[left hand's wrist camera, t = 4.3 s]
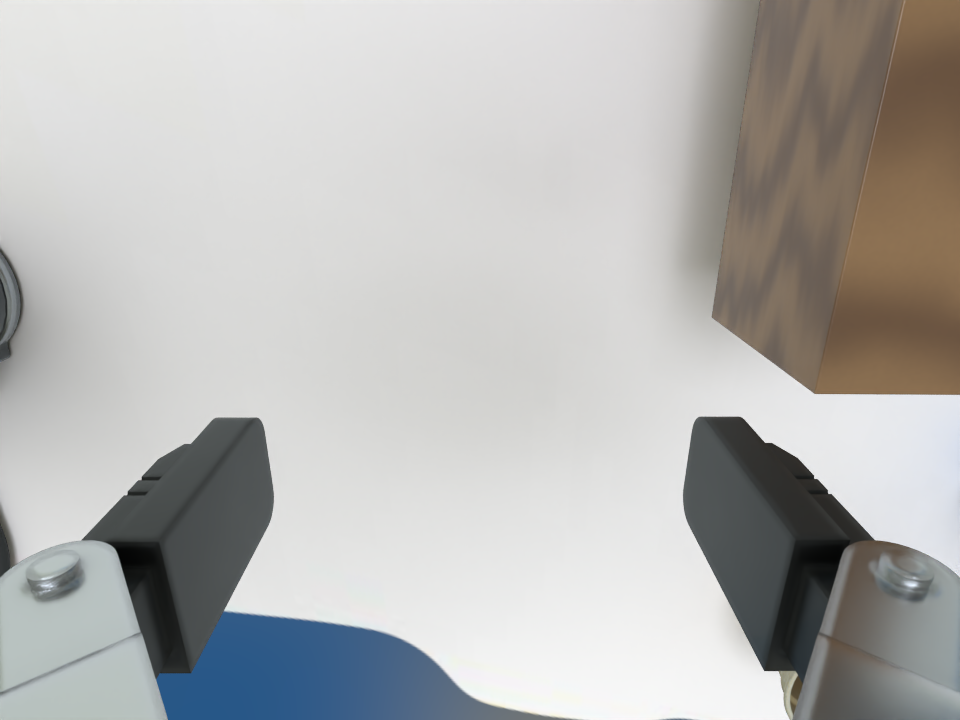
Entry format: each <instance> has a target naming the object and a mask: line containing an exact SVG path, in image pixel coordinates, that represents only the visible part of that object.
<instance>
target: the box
mask: <svg viewBox="0 0 960 720" xmlns="http://www.w3.org/2000/svg"><path fill="white" fill-rule="evenodd" d="M712 318H713V319H715V320H716V321H717V322H719V323H720V324H721V325H723V326H724V327H725V328H727V329H728V330H729V331H731V332H732V333H733V334H735V335H736V336H738V337H739V338H740V339H742V340H743V341H744V342H746V343H747V344H748V345H750V346H751V347H752V348H754V349H755V350H756V351H758V352H759V353H760V354H762V355H763V356H764V357H766V358H767V359H769V360H770V361H771V362H773V363H774V364H775V365H777V366H778V367H779V368H781V369H782V370H783V371H785V372H786V373H787V374H789V375H790V376H791V377H793V378H794V379H795V380H797V381H798V382H800V383H801V384H802V385H804V386H805V387H806V388H808V389H809V390H810V391H812V392H813V393H814V394H930V395H960V0H760V6H759V12H758V19H757V25H756V32H755V38H754V45H753V51H752V58H751V64H750V71H749V77H748V84H747V90H746V97H745V103H744V110H743V116H742V123H741V130H740V136H739V143H738V149H737V156H736V162H735V169H734V175H733V182H732V188H731V195H730V201H729V208H728V214H727V221H726V227H725V234H724V240H723V247H722V254H721V260H720V267H719V273H718V280H717V286H716V293H715V299H714V306H713V312H712Z"/></svg>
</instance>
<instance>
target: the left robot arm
mask: <svg viewBox="0 0 960 720" xmlns="http://www.w3.org/2000/svg"><path fill="white" fill-rule="evenodd" d="M19 317H20V294H19V289H18V285H17V282H16V279H15V276H14V274H13V272H12V270H11V268H10V266H9V264H8V262H7V261H6V259H5V258H4V256H3V255H2V253H1V252H0V362H1V361H3V360H5V359H7V358H9V357H10V352H9V348H8V340H9V339H10V337H11V336H12V335H13V333H14V331H15V329H16V327H17V324H18V321H19ZM273 503H274V492H273V484H272V478H271V471H270V464H269V458H268V451H267V444H266V438H265V431H264V427H263V424H262V422H261V420H260V419H259V418H215V419H213V420H212V421H211V422H210V424H209V425H208V426H207V427H206V428H205V429H204V430H203V431H202V432H201V434H200V435H199V436H198V437H197V438H196V439H195V440H194V441H193V443H192V444H184V445H182V446H180V447H179V448H177V449H175V450H174V451H172V452H170V453H168V454H167V455H165V456H163V457H162V458H160V459H158V460H157V461H156V462H155V464H154V465H153V466H152V467H151V468H150V469H149V470H148V471H147V472H146V473H145V474H144V475H143V476H142V480H138V481H137V482H136V483H135V485H134V486H133V487H132V488H131V489H130V490H129V491H128V495H127V496H123V497H122V498H121V499H120V500H119V501H118V502H117V503H116V505H115V506H114V507H113V508H112V509H111V510H110V511H109V512H108V513H107V514H106V515H105V516H104V517H103V518H102V519H101V520H100V521H99V522H98V523H97V525H96V526H95V527H94V528H93V529H92V530H91V531H90V532H89V533H88V534H87V535H86V536H85V537H84V538H83V539H82V540H81V541H75V542H69V543H65V544H61V545H57V546H54V547H51V548H48V549H45V550H43V551H40V552H38V553H36V554H34V555H32V556H30V557H28V558H26V559H24V560H22V561H21V562H19V563H18V564H16V565H15V566H13V567H12V568H11V569H10V555H9V550H8V545H7V541H6V538H5V535H4V532H3V530H2V527H1V525H0V720H168V719H167V716H166V712H165V709H164V706H163V702H162V699H161V695H160V692H159V689H158V685H157V682H156V678H157V677H158V675H159V673H191V672H192V670H193V668H194V667H195V665H196V663H197V661H198V659H199V657H200V655H201V653H202V651H203V649H204V647H205V646H206V644H207V642H208V640H209V638H210V636H211V634H212V632H213V630H214V628H215V626H216V624H217V623H218V621H219V619H220V617H221V615H222V613H223V611H224V609H225V607H226V605H227V603H228V602H229V600H230V598H231V596H232V594H233V592H234V590H235V588H236V586H237V584H238V582H239V581H240V579H241V577H242V575H243V573H244V571H245V569H246V567H247V565H248V563H249V561H250V560H251V558H252V556H253V554H254V552H255V550H256V548H257V546H258V544H259V542H260V540H261V538H262V537H263V535H264V533H265V531H266V529H267V527H268V525H269V523H270V520H271V516H272V511H273ZM683 503H684V511H685V515H686V519H687V522H688V524H689V526H690V528H691V530H692V532H693V534H694V536H695V538H696V540H697V542H698V544H699V546H700V547H701V549H702V551H703V553H704V555H705V557H706V559H707V561H708V563H709V565H710V567H711V569H712V571H713V573H714V575H715V577H716V578H717V580H718V582H719V584H720V586H721V588H722V590H723V592H724V594H725V596H726V598H727V600H728V602H729V604H730V606H731V607H732V609H733V611H734V613H735V615H736V617H737V619H738V621H739V623H740V625H741V627H742V629H743V631H744V633H745V635H746V636H747V638H748V640H749V642H750V644H751V646H752V648H753V650H754V652H755V654H756V656H757V658H758V660H759V662H760V664H761V665H762V667H763V669H764V671H796V673H797V675H798V676H799V678H800V680H801V682H802V683H803V685H802V689H801V692H800V695H799V699H798V702H797V706H796V709H795V712H794V716H793V719H792V720H960V577H959V576H958V575H957V574H956V573H954V572H953V571H952V570H951V569H949V568H948V567H947V566H945V565H944V564H942V563H941V562H939V561H938V560H936V559H934V558H932V557H930V556H928V555H926V554H924V553H922V552H920V551H917V550H915V549H912V548H909V547H906V546H903V545H899V544H895V543H891V542H885V541H875V540H874V539H873V538H872V537H871V536H870V535H869V534H868V532H867V531H866V530H865V529H864V528H863V527H862V526H861V525H860V524H859V523H858V522H857V521H856V520H855V519H854V518H853V517H852V515H851V514H850V513H849V512H848V511H847V510H846V509H845V508H844V507H843V506H842V505H841V504H840V503H839V502H838V501H837V500H836V498H835V497H834V496H833V495H832V494H828V490H827V489H826V488H825V487H824V486H823V485H822V484H821V483H820V481H819V480H818V479H814V475H813V474H812V473H811V472H810V471H809V470H808V469H807V468H806V467H805V466H804V464H803V463H802V462H801V461H800V460H799V459H798V458H796V457H795V456H793V455H791V454H790V453H788V452H786V451H785V450H783V449H781V448H779V447H778V446H776V445H774V444H773V443H765V442H764V441H763V440H762V439H761V438H760V437H759V436H758V435H757V433H756V432H755V431H754V430H753V429H752V428H751V427H750V426H749V424H748V423H747V422H746V421H745V420H744V419H743V418H741V417H698V418H697V419H696V420H695V422H694V425H693V429H692V435H691V442H690V449H689V455H688V462H687V469H686V476H685V482H684V490H683Z"/></svg>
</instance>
